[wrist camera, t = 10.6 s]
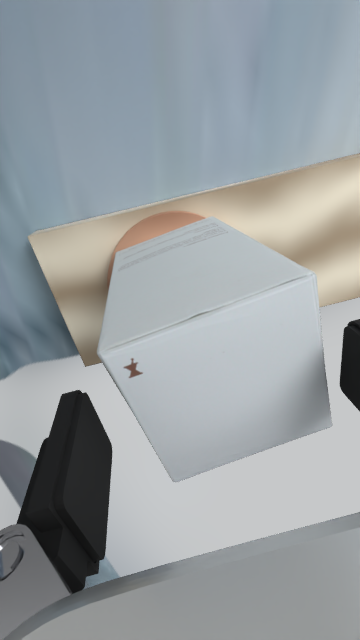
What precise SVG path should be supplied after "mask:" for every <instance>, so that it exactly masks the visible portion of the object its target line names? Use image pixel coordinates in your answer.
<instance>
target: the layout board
mask: <svg viewBox="0 0 360 640" xmlns="http://www.w3.org/2000/svg"><path fill="white" fill-rule="evenodd" d="M211 216H213V217H215V218H217V219H219V220H220V221H222V222H224V223H226V224H228V225H230V226H231V227H233V228H235V229H237V230H239V231H240V232H242V233H244V234H246V235H247V236H249V237H251V238H253V239H255V240H256V241H258V242H260V243H261V244H263V245H265V246H267V247H269V248H270V249H272V250H274V251H276V252H278V253H279V254H281V255H283V256H285V257H286V258H288V259H290V260H292V261H294V262H296V263H297V264H299V265H301V266H303V267H305V268H307V269H309V270H311V271H313V272H315V274H316V276H317V287H318V298H319V307H323V306H327V305H331V304H335V303H339V302H343V301H346V300H351V299H355V298H358V297H360V153H359V154H355V155H350V156H346V157H342V158H338V159H334V160H330V161H325V162H321V163H317V164H313V165H309V166H305V167H301V168H296V169H292V170H288V171H284V172H280V173H276V174H271V175H267V176H263V177H259V178H255V179H251V180H246V181H242V182H238V183H234V184H230V185H226V186H222V187H217V188H213V189H209V190H205V191H201V192H197V193H192V194H188V195H184V196H180V197H176V198H172V199H167V200H163V201H159V202H155V203H151V204H147V205H143V206H138V207H134V208H130V209H126V210H122V211H118V212H113V213H109V214H105V215H101V216H97V217H93V218H88V219H84V220H80V221H76V222H72V223H68V224H64V225H59V226H55V227H51V228H47V229H43V230H39V231H35V232H34V233H32V234H31V235H29V236H28V239H29V241H30V243H31V246H32V248H33V250H34V252H35V255H36V257H37V259H38V261H39V264H40V266H41V268H42V270H43V273H44V275H45V277H46V279H47V282H48V284H49V286H50V288H51V291H52V293H53V295H54V297H55V300H56V302H57V304H58V306H59V309H60V311H61V313H62V315H63V318H64V320H65V322H66V324H67V327H68V329H69V331H70V333H71V336H72V338H73V340H74V342H75V345H76V347H77V349H78V351H79V354H80V356H81V358H82V360H83V363H84V365H85V367H86V366H90V365H94V364H98V363H102V361H101V360H100V358H99V357H98V355H97V348H98V343H99V338H100V333H101V328H102V322H103V316H104V312H105V307H106V301H107V296H108V290H109V285H110V280H111V275H112V270H113V264H114V259H115V254H116V252H118V251H121V250H123V249H126V248H129V247H131V246H134V245H136V244H139V243H142V242H144V241H147V240H149V239H152V238H155V237H157V236H160V235H162V234H165V233H168V232H170V231H173V230H175V229H178V228H181V227H183V226H186V225H189V224H191V223H194V222H197V221H200V220H203V219H205V218H208V217H211Z"/></svg>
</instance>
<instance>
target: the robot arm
mask: <svg viewBox="0 0 360 640" xmlns="http://www.w3.org/2000/svg"><path fill="white" fill-rule="evenodd" d="M343 336H344V337H343V348H342V362H341V374H340V387H341V390H342V392H343V393H344V394H345V395H346V396H347V398H348V399H349V400H350V401H351V402H352V403H353V404H354V405H355V407H356V408H357V409H358V410H359V411H360V319H358V320H355V321H351V322H349V323H348V326H347V327H345V328H344V335H343ZM111 464H112V445H111V442H110V440H109V438H108V436H107V434H106V432H105V430H104V428H103V425H102V423H101V421H100V419H99V417H98V415H97V413H96V411H95V409H94V407H93V405H92V403H91V401H90V398H89V396H88V395H87V393H82V392H81V391H80V390H76V391H73V392H69V393H65V394H62V396H61V398H60V402H59V405H58V408H57V411H56V415H55V418H54V421H53V425H52V428H51V431H50V435H49V437H48V438H46V439H45V440H44V441H43V443H42V445H41V449H40V452H39V455H38V458H37V461H36V464H35V467H34V471H33V474H32V477H31V480H30V483H29V486H28V489H27V493H26V496H25V499H24V502H23V505H22V508H21V511H20V514H19V518H18V521H17V524H16V525H11V526H8V527H6V528H4V529H2V530H1V531H0V640H360V512H359V513H355V514H351V515H347V516H344V517H340V518H336V519H332V520H329V521H325V522H321V523H318V524H314V525H310V526H306V527H303V528H298V529H295V530H291V531H287V532H283V533H280V534H276V535H272V536H268V537H265V538H261V539H257V540H254V541H250V542H246V543H242V544H239V545H235V546H231V547H227V548H224V549H220V550H217V551H213V552H209V553H205V554H202V555H198V556H194V557H191V558H187V559H184V560H180V561H177V562H172V563H169V564H165V565H161V566H158V567H155V568H151V569H148V570H144V571H141V572H138V573H134V574H131V575H127V576H124V577H120V578H117V579H114V580H110V581H107V582H104V583H101V584H98V585H95V586H93V587H90V588H87V589H84V590H82V589H83V588H84V587H85V579H86V577H87V576H90V575H94V574H98V571H99V560H102V559H104V556H105V549H106V535H107V521H108V507H109V492H110V478H111Z"/></svg>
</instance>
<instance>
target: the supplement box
mask: <svg viewBox="0 0 360 640" xmlns="http://www.w3.org/2000/svg"><path fill="white" fill-rule="evenodd" d="M97 355H98V357H99V358H100V360H101V361H102V363H103V364H104V366H105V368H106V369H107V371H108V373H109V374H110V376H111V377H112V379H113V381H114V382H115V384H116V386H117V387H118V389H119V390H120V392H121V394H122V396H123V397H124V399H125V401H126V402H127V404H128V405H129V407H130V408H131V410H132V412H133V414H134V415H135V417H136V419H137V421H138V423H139V424H140V426H141V428H142V429H143V431H144V433H145V435H146V436H147V438H148V440H149V442H150V443H151V445H152V447H153V448H154V450H155V452H156V454H157V455H158V457H159V459H160V461H161V462H162V464H163V466H164V468H165V469H166V471H167V473H168V474H169V476H170V478H171V479H172V481H173V482H178V481H181V480H184V479H187V478H190V477H192V476H195V475H197V474H200V473H203V472H205V471H208V470H211V469H214V468H216V467H219V466H222V465H225V464H228V463H230V462H233V461H236V460H239V459H242V458H244V457H247V456H250V455H253V454H256V453H258V452H261V451H264V450H267V449H269V448H272V447H275V446H278V445H281V444H284V443H286V442H289V441H292V440H295V439H298V438H301V437H303V436H307V435H309V434H312V433H315V432H318V431H321V430H323V429H327V428H330V427H331V426H332V420H331V411H330V404H329V396H328V388H327V380H326V372H325V364H324V353H323V342H322V331H321V319H320V309H319V298H318V287H317V276H316V274H315V272H313V271H311V270H309V269H307V268H305V267H303V266H301V265H299V264H297V263H296V262H294V261H292V260H290V259H288V258H286V257H285V256H283V255H281V254H279V253H278V252H276V251H274V250H272V249H270V248H269V247H267V246H265V245H263V244H261V243H260V242H258V241H256V240H255V239H253V238H251V237H249V236H247V235H246V234H244V233H242V232H240V231H239V230H237V229H235V228H233V227H231V226H230V225H228V224H226V223H224V222H222V221H220V220H219V219H217V218H215V217H213V216H211V217H208V218H205V219H203V220H200V221H197V222H194V223H191V224H189V225H186V226H183V227H181V228H178V229H175V230H173V231H170V232H168V233H165V234H162V235H160V236H157V237H155V238H152V239H149V240H147V241H144V242H142V243H139V244H136V245H134V246H131V247H129V248H126V249H123V250H121V251H118V252H116V254H115V259H114V264H113V270H112V275H111V280H110V285H109V290H108V296H107V301H106V307H105V312H104V316H103V322H102V328H101V333H100V338H99V343H98V348H97Z"/></svg>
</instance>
